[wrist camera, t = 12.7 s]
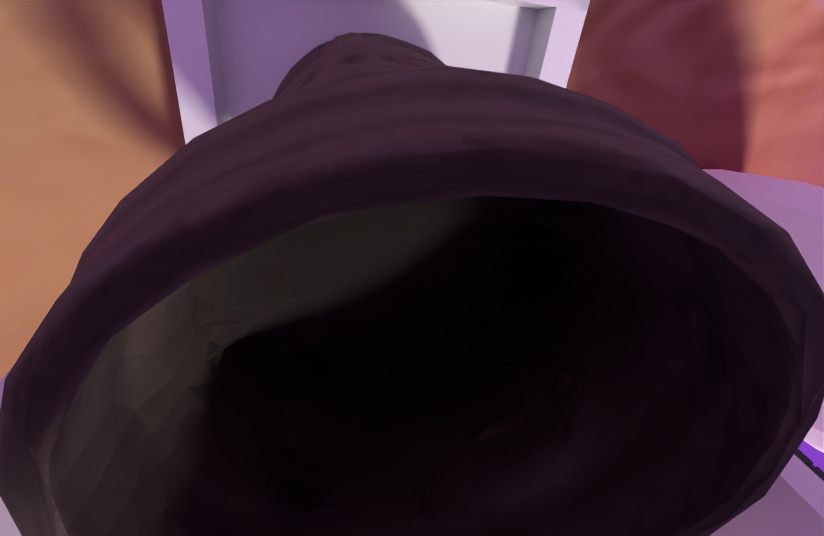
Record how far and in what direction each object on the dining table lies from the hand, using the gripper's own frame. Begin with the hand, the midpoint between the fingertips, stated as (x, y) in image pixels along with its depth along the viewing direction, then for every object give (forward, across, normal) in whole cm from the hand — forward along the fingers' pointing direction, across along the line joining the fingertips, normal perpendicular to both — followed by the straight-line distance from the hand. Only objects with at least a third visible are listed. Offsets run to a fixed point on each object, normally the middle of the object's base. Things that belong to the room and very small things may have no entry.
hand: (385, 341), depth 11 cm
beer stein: (+14, 0, 0) cm, 14 cm away
